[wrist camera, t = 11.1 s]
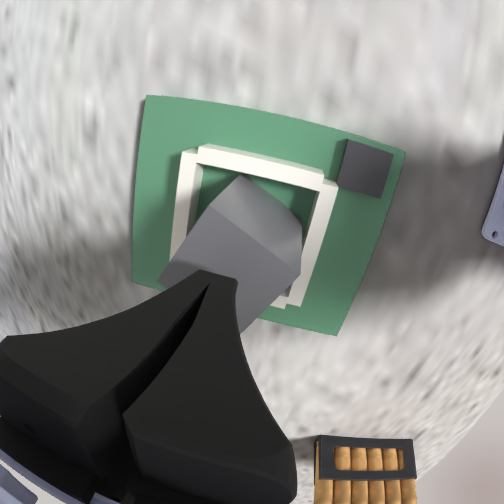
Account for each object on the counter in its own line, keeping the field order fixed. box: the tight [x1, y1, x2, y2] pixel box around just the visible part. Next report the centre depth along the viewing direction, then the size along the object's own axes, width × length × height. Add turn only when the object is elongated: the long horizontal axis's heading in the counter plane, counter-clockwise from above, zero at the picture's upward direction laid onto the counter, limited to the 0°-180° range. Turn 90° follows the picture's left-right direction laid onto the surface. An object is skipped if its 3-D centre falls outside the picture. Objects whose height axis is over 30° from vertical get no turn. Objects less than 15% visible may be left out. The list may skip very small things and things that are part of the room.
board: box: [132, 95, 406, 336], centre depth 17 cm, size 14×12×2 cm
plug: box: [157, 173, 302, 334], centre depth 14 cm, size 4×5×6 cm
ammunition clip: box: [314, 435, 417, 504], centre depth 21 cm, size 11×2×12 cm, turn 82°
